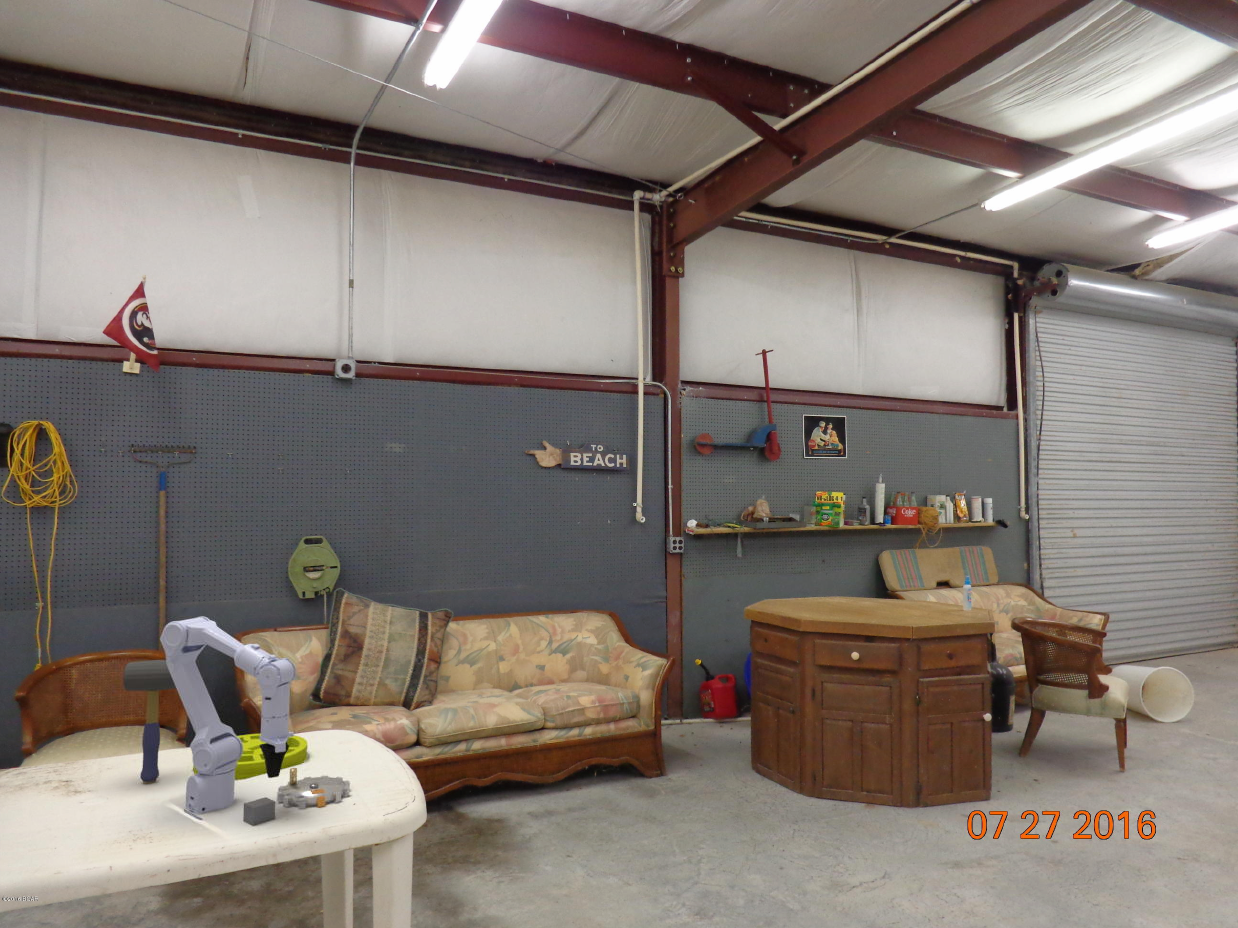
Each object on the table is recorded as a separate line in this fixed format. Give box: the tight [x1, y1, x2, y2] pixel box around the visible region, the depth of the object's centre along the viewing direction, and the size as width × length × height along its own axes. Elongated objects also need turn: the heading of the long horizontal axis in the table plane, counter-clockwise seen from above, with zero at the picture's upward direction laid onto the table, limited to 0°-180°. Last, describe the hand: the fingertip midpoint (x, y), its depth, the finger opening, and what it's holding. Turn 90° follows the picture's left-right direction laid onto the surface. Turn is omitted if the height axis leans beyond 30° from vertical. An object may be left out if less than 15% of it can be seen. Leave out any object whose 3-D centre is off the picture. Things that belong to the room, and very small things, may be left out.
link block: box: [242, 796, 277, 827], centre depth 176 cm, size 5×4×5 cm
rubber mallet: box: [122, 659, 177, 784], centre depth 202 cm, size 12×8×30 cm, turn 107°
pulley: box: [192, 733, 308, 781], centre depth 218 cm, size 28×28×5 cm
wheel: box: [276, 767, 351, 810], centre depth 191 cm, size 16×16×6 cm
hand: (273, 776), depth 181 cm, fingers closed
